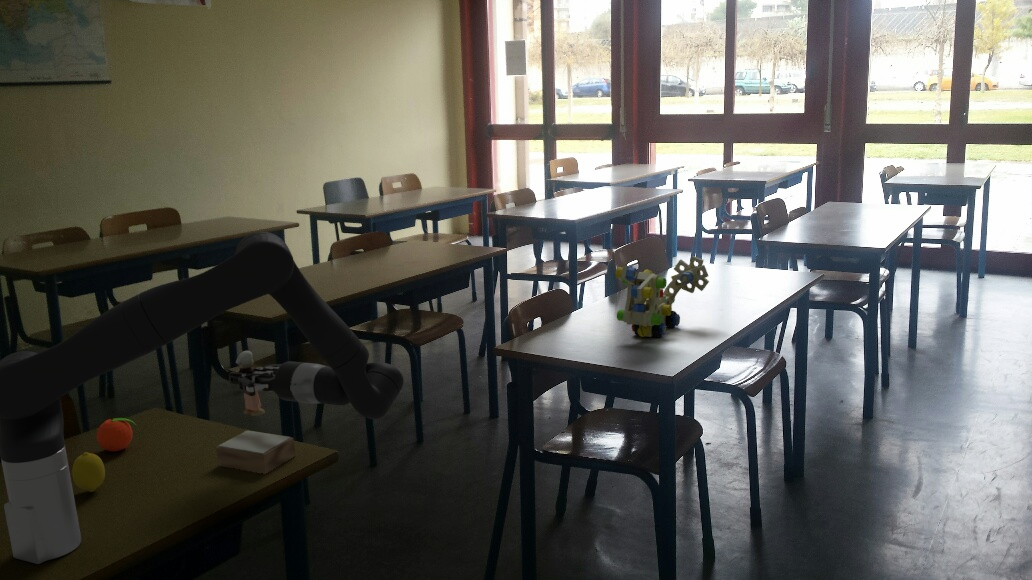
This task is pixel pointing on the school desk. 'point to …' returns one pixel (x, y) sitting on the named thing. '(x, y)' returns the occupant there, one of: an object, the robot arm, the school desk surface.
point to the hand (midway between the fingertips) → (235, 375)
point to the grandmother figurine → (246, 364)
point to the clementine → (115, 434)
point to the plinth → (255, 451)
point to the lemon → (88, 471)
